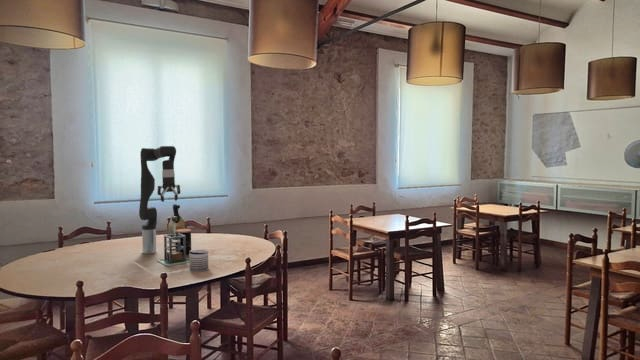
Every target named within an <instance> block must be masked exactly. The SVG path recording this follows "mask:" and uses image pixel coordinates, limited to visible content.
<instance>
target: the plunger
mask: <svg viewBox="0 0 640 360" xmlns="http://www.w3.org/2000/svg"><path fill="white" fill-rule="evenodd" d="M173 216H174V215H173ZM173 216H171V219H172V221H174V237H176V231H175V221H177V217H176V216H174V217H173ZM177 242H180V240H178V239H174V240H172V244H175V243H177Z"/></svg>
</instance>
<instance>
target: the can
mask: <svg viewBox="0 0 640 360" xmlns="http://www.w3.org/2000/svg"><path fill="white" fill-rule="evenodd" d="M189 252H190V253H189V255H188V256H189V259H190V262H189V271H190V272H193V273H194V272H195V273H199V272H205V271H208V270H209V250H206V249H193V250H192V249H191V251H189Z"/></svg>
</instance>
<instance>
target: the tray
mask: <svg viewBox="0 0 640 360" xmlns="http://www.w3.org/2000/svg"><path fill="white" fill-rule="evenodd" d="M186 260H187V261H185V262H179V263H173V264H168V263H166V262H165V261H164V258H161V259H156V261H157V262H158V263H159V264H161V265H163V266H165V267H169V266H176V265H182V264H188V263H189V264H190V257H187V256H186Z"/></svg>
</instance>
